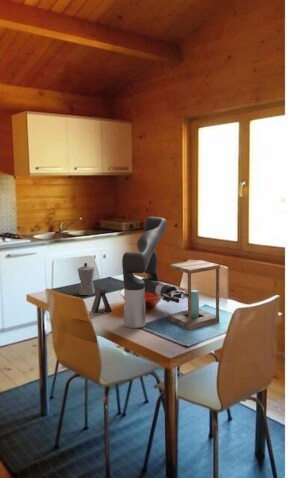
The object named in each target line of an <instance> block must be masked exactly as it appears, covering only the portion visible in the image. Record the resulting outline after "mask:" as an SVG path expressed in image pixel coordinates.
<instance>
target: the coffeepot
mask: <svg viewBox="0 0 297 478" xmlns="http://www.w3.org/2000/svg"><path fill="white" fill-rule="evenodd" d="M77 271H78V272H77V273H78V279H79V280H80V283H79V290H78V295H79V294H81V295H91V296H93V295H92V294H94V293H95V294H96V290H95V285H94V282H93V280H94V274H95V273H94V272H95V267H94V266H89V265H88V263H87V262H85V263H84V264H83V266H79V267H78V268H77ZM95 294H94V295H95ZM81 295H80V296H81Z"/></svg>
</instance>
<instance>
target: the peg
mask: <svg viewBox="0 0 297 478" xmlns="http://www.w3.org/2000/svg"><path fill="white" fill-rule="evenodd" d="M199 309H200V291H199V290H197V289H191V319H196V318H199Z"/></svg>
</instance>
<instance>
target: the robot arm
mask: <svg viewBox="0 0 297 478" xmlns="http://www.w3.org/2000/svg"><path fill="white" fill-rule="evenodd" d="M167 222H168V221H167V220H166V218H164V217H158V216H147V217H146V219H145V224H144V232H143V233H142V234H141V235H140V237H139V238H138V240H137V242H136V248H137V250H138V252H137V251H126V252H124V254H123V255H122V259H121V261H122V263H121V267H122V278H123V280H122V281H123V291H124V294H123V295H124V305H123V322H124V323H123V325H124V327H126V328H131V329H139V328H142V327H145V326H146V323H147V322H146V320H147V319H146V318H147V317H146V293H148V294H153V295H156V296H158V297H160V298H161V300H163V301H165V302H167V303H170V302H171V303H172V302H173V303H174V302H175V303H177V304H179V303H180V299H182V300H184V299H188V289H182V290H179V289H177V287H176V286H175V285H171V284H168V283H166V282H165V283H164V282H161V281H159V278H158V264H159V263H158V261H159V258H158V253H157V251H156V248H157V246H158V244H159V242H160V240H161V238H162V237H163V236H164V235H165V232H166V231H167V228H168V223H167ZM143 273H145V274H148V275H149V277H143V278H139V277H137V276H135V275H134V274H143Z"/></svg>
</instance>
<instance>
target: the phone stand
mask: <svg viewBox="0 0 297 478" xmlns="http://www.w3.org/2000/svg"><path fill="white" fill-rule="evenodd" d="M94 296H95V297H94V299H93V303H92V307H91V310H92V311H91V310H90V311H91V312H92V313H93V314H94V313H100V314H105V313H104V312H107V313H112V312H113V310H112V308H111V306H110V304H109V301H108V298H107V295H106V290H105V289H104V288H103V286H97V287H96V290H95V295H94ZM101 299H102V303H103V306H104V308H100V304H101Z"/></svg>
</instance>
